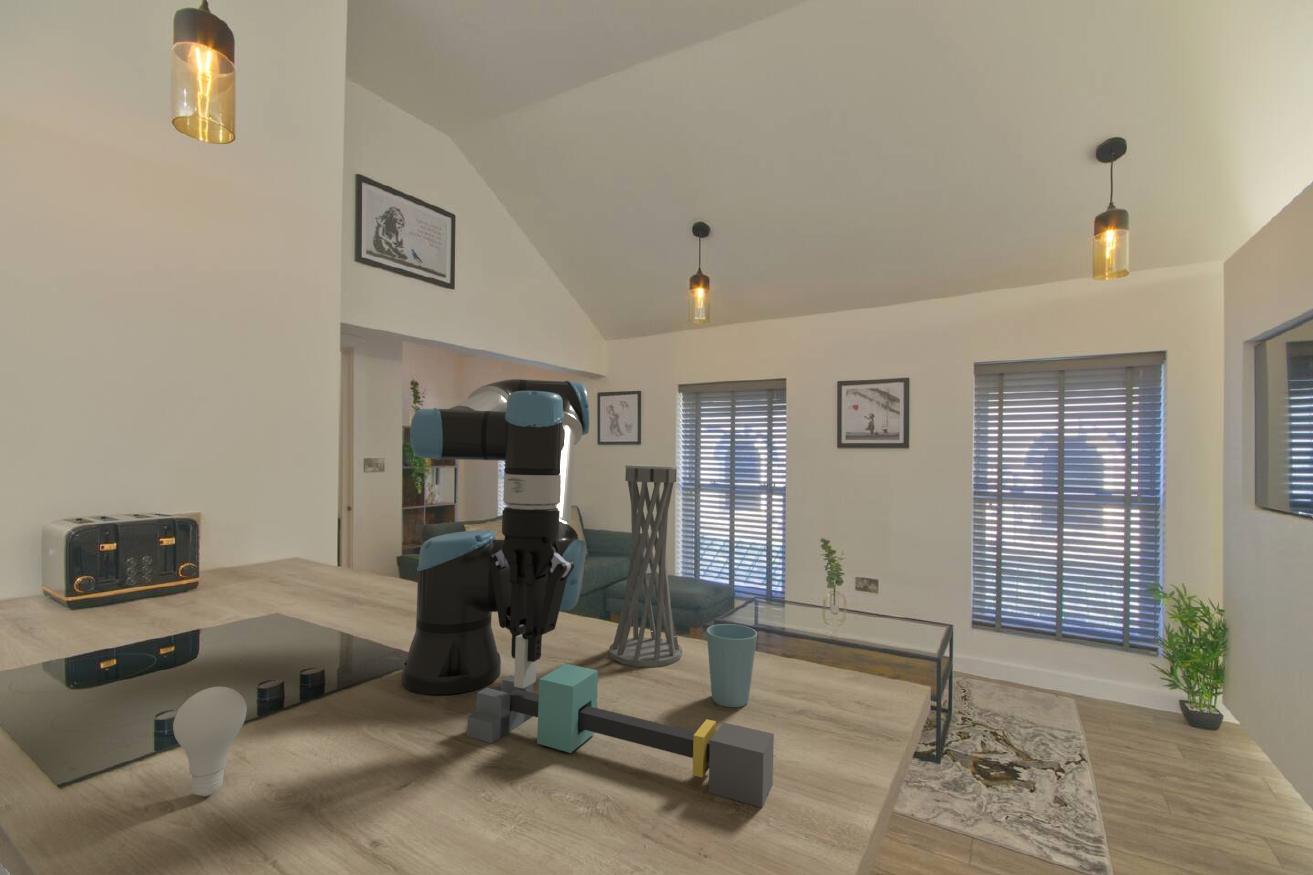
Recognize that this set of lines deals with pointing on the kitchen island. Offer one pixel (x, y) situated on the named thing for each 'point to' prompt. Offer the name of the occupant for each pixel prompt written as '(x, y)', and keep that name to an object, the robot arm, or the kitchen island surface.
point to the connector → (741, 764)
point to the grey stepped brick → (495, 713)
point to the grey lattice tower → (639, 647)
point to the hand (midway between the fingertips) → (525, 683)
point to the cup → (731, 663)
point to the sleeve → (565, 706)
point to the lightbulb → (209, 734)
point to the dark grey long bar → (634, 730)
